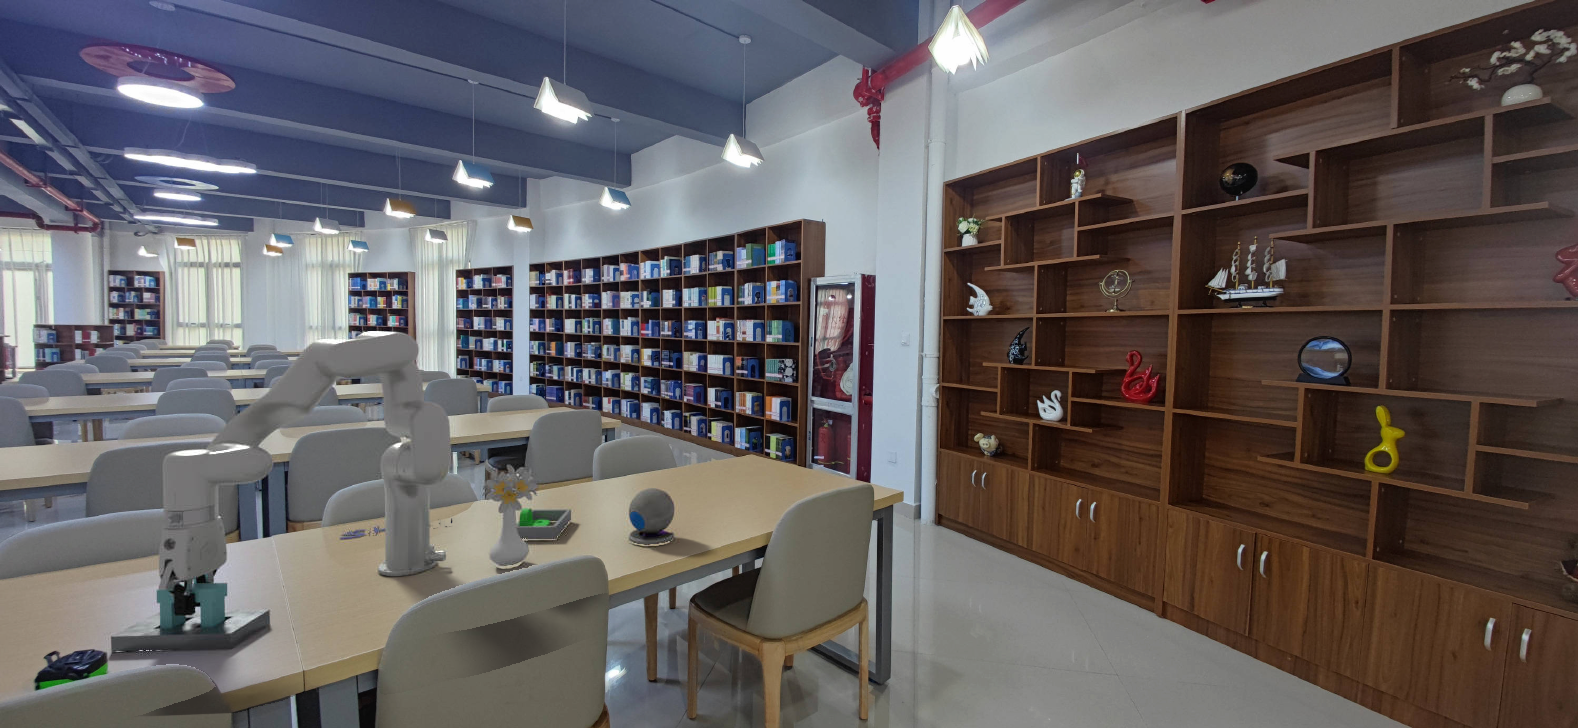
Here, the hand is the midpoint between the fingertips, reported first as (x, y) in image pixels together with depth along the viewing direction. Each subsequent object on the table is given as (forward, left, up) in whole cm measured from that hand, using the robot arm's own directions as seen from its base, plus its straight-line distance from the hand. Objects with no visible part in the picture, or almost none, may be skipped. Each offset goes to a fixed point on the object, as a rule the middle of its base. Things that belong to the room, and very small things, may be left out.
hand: (193, 609), depth 119 cm
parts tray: (-47, -63, -6) cm, 79 cm away
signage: (-4, -67, -6) cm, 67 cm away
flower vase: (-47, -35, -6) cm, 59 cm away
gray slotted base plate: (0, 0, -6) cm, 6 cm away
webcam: (-80, -54, -6) cm, 97 cm away
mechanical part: (-45, -63, -6) cm, 78 cm away
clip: (0, 0, -3) cm, 3 cm away
